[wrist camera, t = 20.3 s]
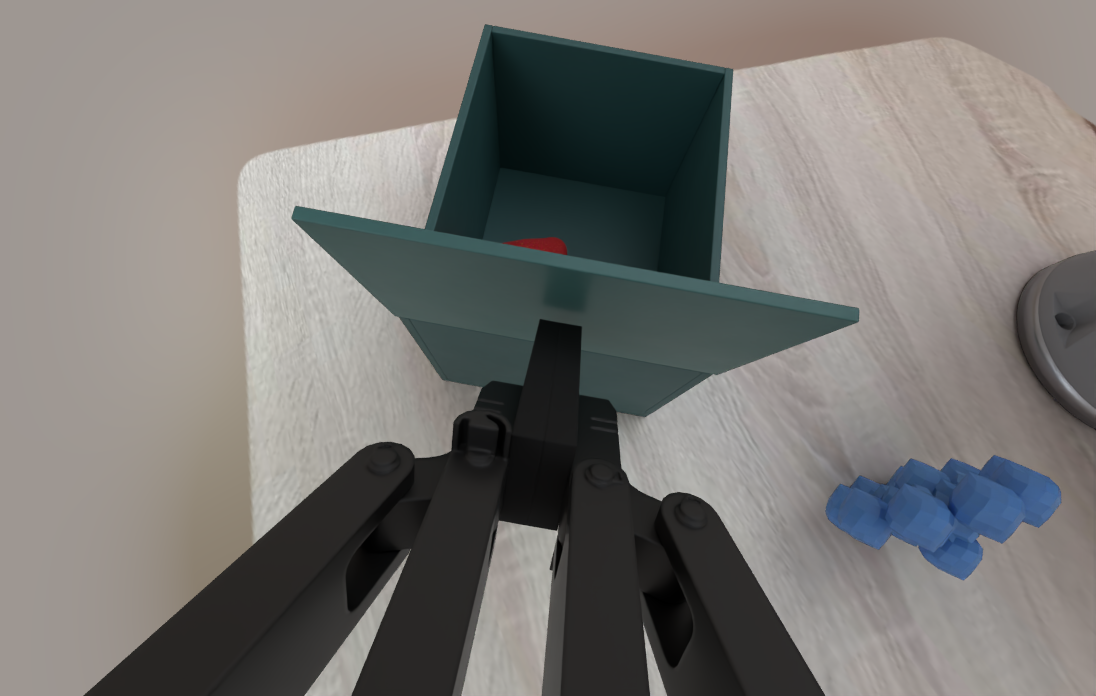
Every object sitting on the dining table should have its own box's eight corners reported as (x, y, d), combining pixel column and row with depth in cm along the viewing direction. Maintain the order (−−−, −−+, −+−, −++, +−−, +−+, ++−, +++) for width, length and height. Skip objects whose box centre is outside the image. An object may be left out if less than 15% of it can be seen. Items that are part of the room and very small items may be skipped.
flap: (718, 366, 21) (717, 375, 21) (396, 307, 21) (394, 316, 21) (860, 307, 12) (859, 322, 12) (294, 204, 12) (290, 218, 12)
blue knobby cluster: (805, 586, 31) (970, 640, 19) (769, 482, 33) (901, 476, 21) (959, 545, 32) (1200, 572, 21) (916, 447, 34) (1114, 423, 23)
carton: (646, 417, 34) (713, 374, 22) (441, 379, 34) (398, 317, 22) (670, 197, 40) (733, 68, 28) (496, 165, 40) (484, 23, 28)
